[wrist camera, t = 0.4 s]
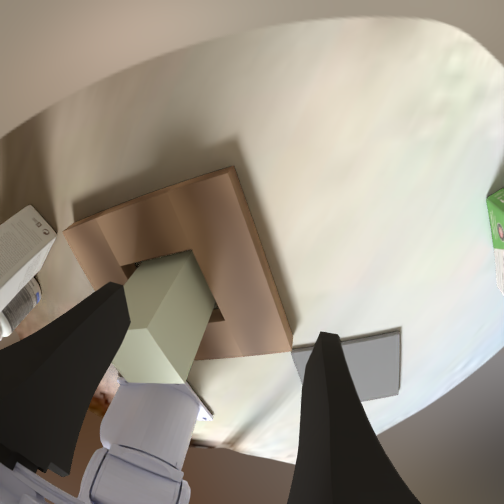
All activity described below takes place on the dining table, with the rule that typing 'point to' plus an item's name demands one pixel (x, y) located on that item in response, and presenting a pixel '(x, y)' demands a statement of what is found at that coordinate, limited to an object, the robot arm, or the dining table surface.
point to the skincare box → (22, 251)
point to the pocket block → (205, 251)
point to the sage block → (164, 319)
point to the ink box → (497, 233)
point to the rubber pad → (366, 364)
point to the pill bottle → (19, 307)
